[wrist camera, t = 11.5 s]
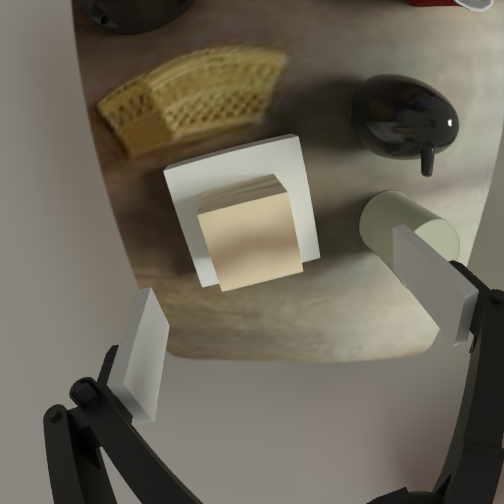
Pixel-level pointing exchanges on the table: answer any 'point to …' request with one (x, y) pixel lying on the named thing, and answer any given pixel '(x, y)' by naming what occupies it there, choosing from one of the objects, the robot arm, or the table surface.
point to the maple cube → (250, 232)
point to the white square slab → (233, 171)
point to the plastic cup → (456, 4)
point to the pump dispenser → (403, 119)
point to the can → (414, 217)
